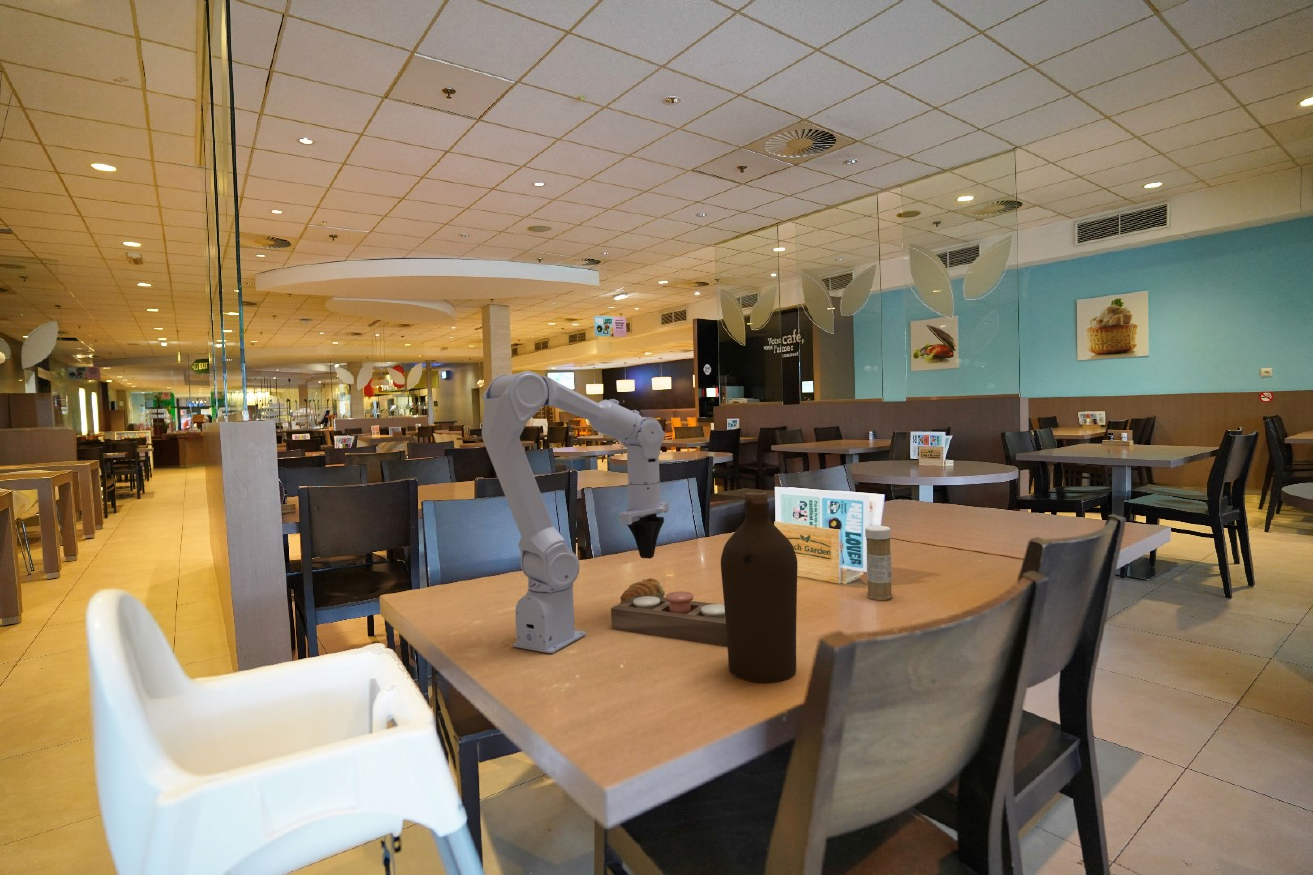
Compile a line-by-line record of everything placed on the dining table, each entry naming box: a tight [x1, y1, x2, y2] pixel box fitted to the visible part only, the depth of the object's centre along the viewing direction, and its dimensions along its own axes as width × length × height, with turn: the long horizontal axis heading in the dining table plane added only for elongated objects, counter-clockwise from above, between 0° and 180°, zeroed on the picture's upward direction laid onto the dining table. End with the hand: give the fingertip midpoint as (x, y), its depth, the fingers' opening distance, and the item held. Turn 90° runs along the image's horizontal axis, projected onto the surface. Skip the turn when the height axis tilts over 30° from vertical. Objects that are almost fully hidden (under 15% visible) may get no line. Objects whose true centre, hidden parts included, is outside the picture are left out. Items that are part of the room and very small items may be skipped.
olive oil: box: [720, 491, 799, 683], centre depth 92 cm, size 11×11×25 cm
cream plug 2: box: [701, 603, 725, 619], centre depth 108 cm, size 5×5×4 cm
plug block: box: [610, 595, 727, 647], centre depth 111 cm, size 9×22×4 cm, turn 61°
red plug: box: [665, 591, 694, 614], centre depth 111 cm, size 5×5×4 cm
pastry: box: [620, 577, 666, 604], centre depth 128 cm, size 9×7×4 cm
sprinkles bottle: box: [864, 525, 893, 601], centre depth 124 cm, size 5×5×14 cm
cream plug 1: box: [633, 596, 660, 610], centre depth 114 cm, size 5×5×4 cm
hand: (647, 557), depth 119 cm, fingers closed
